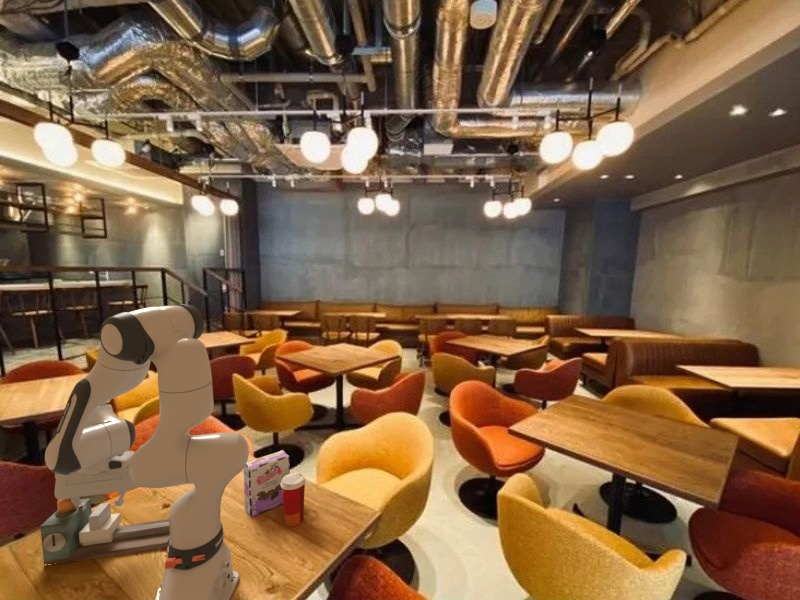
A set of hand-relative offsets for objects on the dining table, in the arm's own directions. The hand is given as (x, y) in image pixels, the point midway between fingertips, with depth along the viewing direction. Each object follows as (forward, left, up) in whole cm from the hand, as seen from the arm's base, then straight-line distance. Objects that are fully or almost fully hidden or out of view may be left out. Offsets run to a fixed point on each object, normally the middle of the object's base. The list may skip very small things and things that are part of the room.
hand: (100, 507), depth 107 cm
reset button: (0, +9, +1) cm, 9 cm away
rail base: (0, -3, -12) cm, 12 cm away
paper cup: (-2, -53, -12) cm, 55 cm away
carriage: (0, +1, -10) cm, 10 cm away
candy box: (+8, -44, -12) cm, 47 cm away
